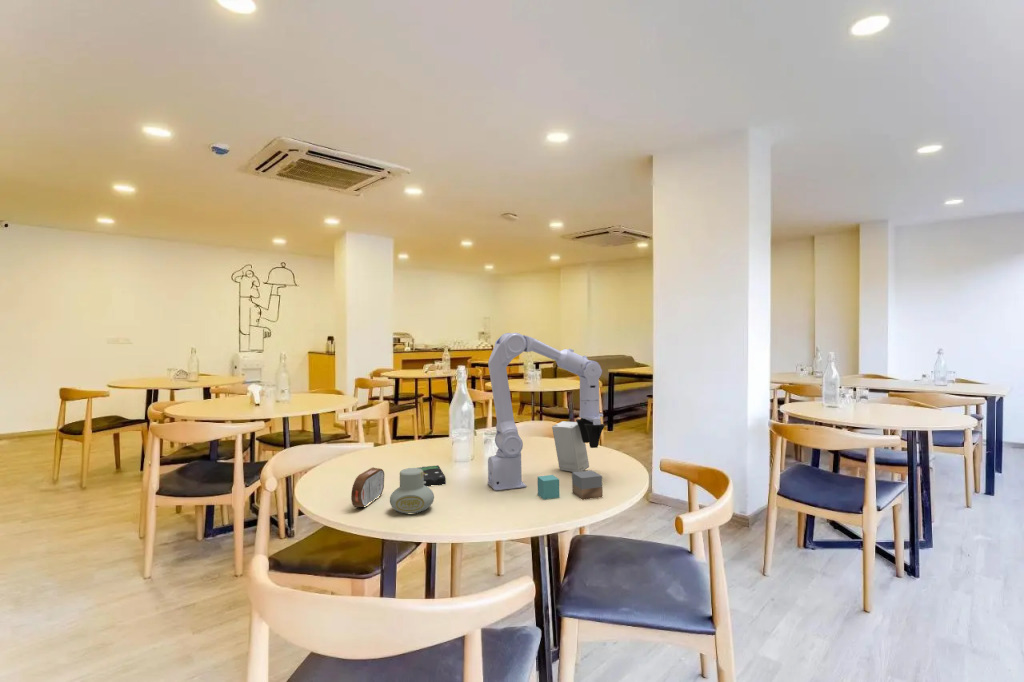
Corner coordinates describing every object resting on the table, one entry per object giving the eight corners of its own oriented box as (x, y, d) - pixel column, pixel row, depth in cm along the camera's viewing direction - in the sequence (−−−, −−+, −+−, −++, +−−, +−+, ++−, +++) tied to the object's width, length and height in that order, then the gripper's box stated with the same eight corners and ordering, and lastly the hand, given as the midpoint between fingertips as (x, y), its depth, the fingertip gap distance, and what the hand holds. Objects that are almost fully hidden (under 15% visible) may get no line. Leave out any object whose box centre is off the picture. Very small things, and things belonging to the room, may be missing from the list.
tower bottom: (582, 501, 133) (581, 489, 133) (572, 494, 138) (572, 483, 138) (602, 498, 135) (602, 487, 135) (592, 491, 140) (592, 481, 140)
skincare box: (589, 467, 160) (583, 422, 159) (578, 474, 156) (571, 427, 155) (569, 463, 167) (563, 419, 165) (557, 470, 162) (551, 425, 161)
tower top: (581, 489, 133) (581, 478, 133) (572, 483, 139) (571, 472, 138) (602, 487, 135) (602, 475, 135) (592, 481, 140) (591, 470, 140)
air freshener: (387, 517, 123) (386, 476, 123) (393, 505, 131) (392, 467, 131) (432, 515, 124) (431, 474, 123) (435, 503, 132) (434, 465, 132)
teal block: (543, 499, 133) (543, 481, 133) (537, 494, 138) (537, 476, 138) (559, 497, 135) (559, 479, 135) (553, 492, 139) (552, 474, 139)
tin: (376, 493, 141) (375, 463, 141) (386, 494, 141) (386, 463, 141) (350, 512, 127) (349, 478, 126) (362, 513, 126) (361, 479, 126)
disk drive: (446, 486, 149) (438, 473, 163) (446, 477, 149) (438, 464, 163) (410, 490, 146) (405, 476, 160) (410, 480, 146) (405, 467, 160)
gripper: (610, 402, 146) (611, 449, 146) (594, 396, 160) (595, 439, 160) (586, 403, 145) (587, 450, 145) (573, 397, 159) (573, 440, 159)
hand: (590, 444), depth 152 cm, fingers open, 7 cm apart
